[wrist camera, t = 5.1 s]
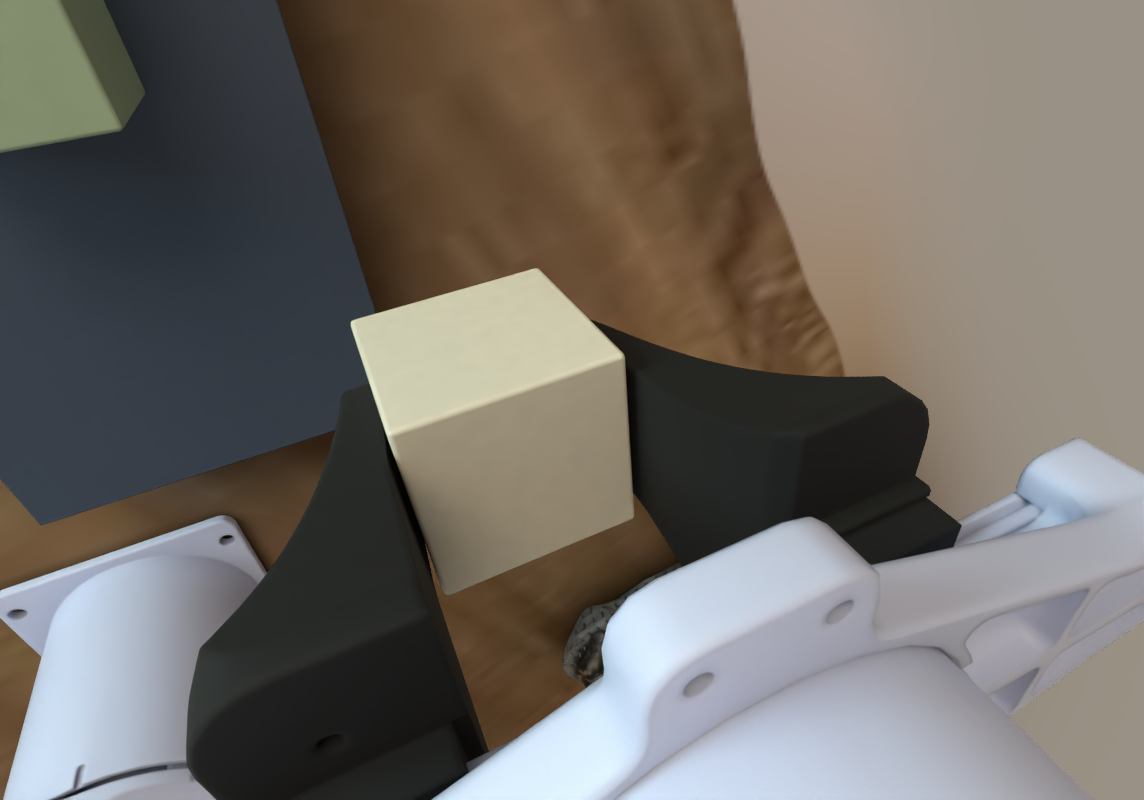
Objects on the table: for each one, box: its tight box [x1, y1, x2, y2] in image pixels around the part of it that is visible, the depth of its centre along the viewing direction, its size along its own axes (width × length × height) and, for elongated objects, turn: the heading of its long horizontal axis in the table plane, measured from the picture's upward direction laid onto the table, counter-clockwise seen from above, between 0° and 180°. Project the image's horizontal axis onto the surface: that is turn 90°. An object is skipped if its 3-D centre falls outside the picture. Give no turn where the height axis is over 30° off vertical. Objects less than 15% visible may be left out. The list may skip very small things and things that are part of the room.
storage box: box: [0, 0, 376, 525], centre depth 16 cm, size 16×10×4 cm, turn 6°
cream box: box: [351, 269, 634, 595], centre depth 13 cm, size 4×4×4 cm
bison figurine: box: [562, 563, 682, 688], centre depth 35 cm, size 12×7×10 cm, turn 112°
